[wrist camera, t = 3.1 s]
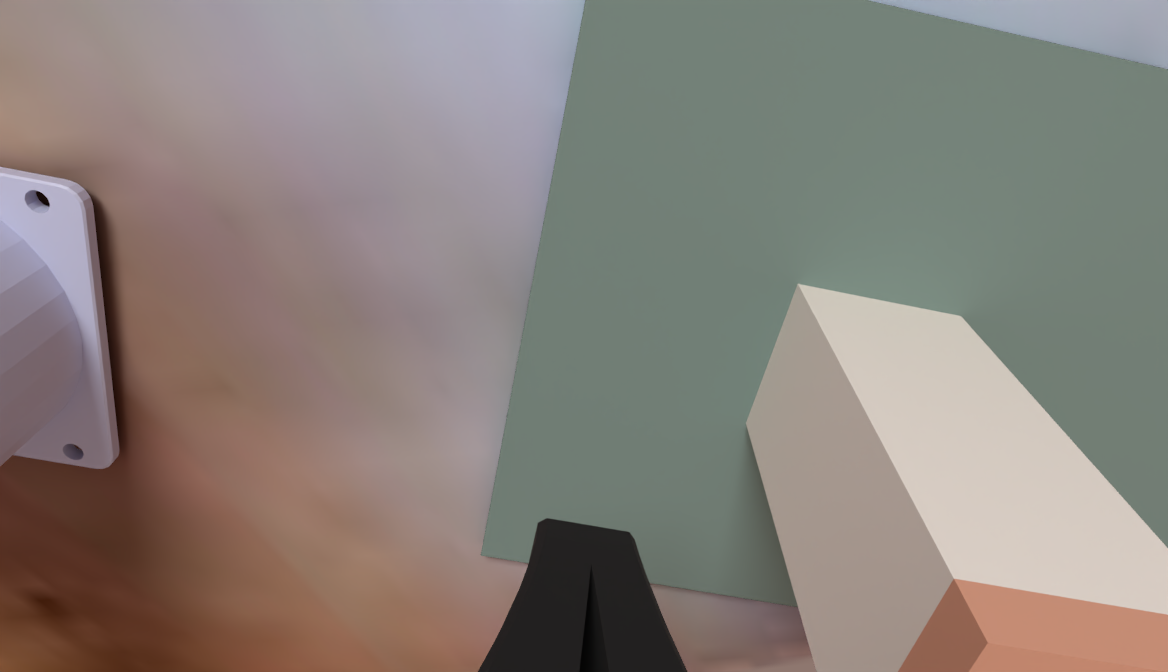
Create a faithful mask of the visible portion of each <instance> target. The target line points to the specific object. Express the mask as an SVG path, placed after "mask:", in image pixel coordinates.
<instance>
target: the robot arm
mask: <svg viewBox="0 0 1168 672" xmlns="http://www.w3.org/2000/svg"><path fill="white" fill-rule="evenodd" d="M36 191H39V192H41V193H43V194H44V195H45V196H46V197H47V198H48V201H49V203H50V206H49V207H48V206H46V205H44V204H43V203H42V202H41V201H40V200H39V199H38V197H37V195H36ZM73 444H74V445H76V446H78V447H79V448H81V449H82V450H80V449H77V448H76V447H75V446H74V445H73ZM119 451H120V450H119V441H118V432H117V422H116V413H115V404H114V394H113V385H112V376H111V367H110V357H109V348H108V339H107V329H106V320H105V311H104V302H103V292H102V283H101V274H100V264H99V255H98V246H97V237H96V227H95V218H94V209H93V203H92V200H91V197H90V196H89V194H88V193H87V192H86V190H85V189H84V188H82V187H81V186H80V185H78V184H77V183H75V182H72V181H69V180H66V179H61V178H55V177H50V176H45V175H40V174H35V173H30V172H25V171H19V170H14V169H9V168H4V167H0V466H1V465H2V464H4V463H5V462H6V461H7V460H8V459H9V458H10V457H11V456H12V455H15V456H21V457H27V458H33V459H39V460H45V461H51V462H57V463H64V464H70V465H76V466H82V467H88V468H94V469H104V468H107V467H109V466H110V465H111V464H112V463H113V462H114V461H115V459H116V458H117V457H118V456H119ZM478 672H687V670H686V668H685V666H684V663H683V661H682V659H681V657H680V655H679V652H678V650H677V648H676V646H675V644H674V641H673V639H672V637H671V635H670V633H669V630H668V628H667V626H666V623H665V621H664V619H663V616H662V614H661V611H660V609H659V606H658V604H657V601H656V599H655V596H654V594H653V591H652V589H651V586H650V583H649V580H648V578H647V575H646V572H645V569H644V567H643V564H642V561H641V558H640V555H639V552H638V549H637V545H636V542H635V539H634V538H633V536H632V535H631V533H630V532H627V531H621V530H615V529H609V528H603V527H597V526H592V525H586V524H580V523H574V522H568V521H562V520H556V519H550V518H546V519H544V520H542V521H540V522H538V524H537V529H536V533H535V537H534V542H533V546H532V550H531V555H530V559H529V564H528V568H527V570H526V573H525V576H524V578H523V581H522V584H521V586H520V589H519V591H518V593H517V595H516V598H515V600H514V602H513V604H512V606H511V608H510V611H509V613H508V615H507V617H506V619H505V622H504V624H503V626H502V628H501V630H500V632H499V634H498V636H497V638H496V640H495V642H494V644H493V645H492V647H491V649H490V651H489V653H488V654H487V656H486V658H485V660H484V662H483V664H482V665H481V667H480V669H479V671H478Z"/></svg>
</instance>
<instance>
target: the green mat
mask: <svg viewBox="0 0 1168 672" xmlns="http://www.w3.org/2000/svg"><path fill="white" fill-rule="evenodd" d="M797 284H801V285H806V286H811V287H817V288H822V289H827V290H832V291H837V292H842V293H847V294H852V295H857V296H862V297H867V298H872V299H877V300H882V301H887V302H892V303H897V304H902V305H907V306H913V307H918V308H923V309H928V310H933V311H938V312H943V313H948V314H953V315H958V316H961V317H962V318H963V319H964V320H965V321H966V322H967V323H968V325H969V326H970V327H971V328H972V329H973V330H974V331H975V332H976V334H977V335H978V336H979V337H980V338H981V339H982V340H983V341H984V342H985V344H986V345H987V346H988V347H989V348H990V349H991V350H992V351H993V353H994V354H995V355H996V356H997V357H998V358H999V359H1000V360H1001V362H1002V363H1003V364H1004V365H1005V366H1006V367H1007V368H1008V369H1009V371H1010V372H1011V373H1012V374H1013V375H1014V376H1015V377H1016V378H1017V380H1018V381H1019V382H1020V383H1021V384H1022V385H1023V386H1024V387H1025V389H1026V390H1027V391H1028V392H1029V393H1030V394H1031V395H1032V396H1033V397H1034V399H1035V400H1036V401H1037V402H1038V403H1039V404H1040V405H1041V406H1042V408H1043V409H1044V410H1045V411H1046V412H1047V413H1048V414H1049V415H1050V417H1051V418H1052V419H1053V420H1054V421H1055V422H1056V423H1057V424H1058V426H1059V427H1060V428H1061V429H1062V430H1063V431H1064V432H1065V433H1066V435H1067V436H1068V437H1069V438H1070V439H1071V440H1072V441H1073V442H1074V443H1075V445H1076V446H1077V447H1078V448H1079V449H1080V450H1081V451H1082V452H1083V454H1084V455H1085V456H1086V457H1087V458H1088V459H1089V460H1090V461H1091V463H1092V464H1093V465H1094V466H1095V467H1096V468H1097V469H1098V470H1099V472H1100V473H1101V474H1102V475H1103V476H1104V477H1105V478H1106V479H1107V481H1108V482H1109V483H1110V484H1111V485H1112V486H1113V487H1114V488H1115V489H1116V491H1117V492H1118V493H1119V494H1120V495H1121V496H1122V497H1123V498H1124V500H1125V501H1126V502H1127V503H1128V504H1129V505H1130V506H1131V507H1132V509H1133V510H1134V511H1135V512H1136V513H1137V514H1138V515H1139V516H1140V518H1141V519H1142V520H1143V521H1144V522H1145V523H1146V524H1147V525H1148V527H1149V528H1150V529H1151V530H1152V531H1153V532H1154V533H1155V534H1156V535H1157V537H1158V538H1159V539H1160V540H1161V541H1162V542H1163V543H1164V544H1165V546H1166V547H1167V548H1168V69H1164V68H1160V67H1155V66H1151V65H1147V64H1142V63H1138V62H1134V61H1129V60H1125V59H1121V58H1116V57H1112V56H1107V55H1103V54H1099V53H1094V52H1090V51H1086V50H1081V49H1077V48H1073V47H1068V46H1064V45H1060V44H1055V43H1051V42H1047V41H1042V40H1038V39H1034V38H1029V37H1025V36H1021V35H1016V34H1012V33H1008V32H1003V31H999V30H994V29H990V28H986V27H981V26H977V25H973V24H968V23H964V22H960V21H955V20H951V19H947V18H942V17H938V16H934V15H929V14H925V13H921V12H916V11H912V10H908V9H903V8H899V7H895V6H890V5H886V4H881V3H877V2H873V1H868V0H586V1H585V6H584V11H583V17H582V22H581V27H580V32H579V38H578V43H577V48H576V54H575V59H574V64H573V70H572V75H571V80H570V85H569V91H568V96H567V101H566V107H565V112H564V117H563V123H562V128H561V133H560V138H559V144H558V149H557V154H556V160H555V165H554V170H553V175H552V181H551V186H550V191H549V197H548V202H547V207H546V213H545V218H544V223H543V228H542V234H541V239H540V244H539V250H538V255H537V260H536V266H535V271H534V276H533V281H532V287H531V292H530V297H529V303H528V308H527V313H526V319H525V324H524V329H523V334H522V340H521V345H520V350H519V356H518V361H517V366H516V371H515V377H514V382H513V387H512V393H511V398H510V403H509V409H508V414H507V419H506V424H505V430H504V435H503V440H502V446H501V451H500V456H499V462H498V467H497V472H496V477H495V483H494V488H493V493H492V499H491V504H490V509H489V515H488V520H487V525H486V530H485V536H484V541H483V546H482V552H481V555H482V556H488V557H494V558H500V559H506V560H512V561H518V562H524V563H529V559H530V555H531V550H532V546H533V542H534V537H535V533H536V529H537V524H538V522H540V521H542V520H544V519H546V518H550V519H556V520H562V521H568V522H574V523H580V524H586V525H592V526H597V527H603V528H609V529H615V530H621V531H627V532H630V533H631V535H632V536H633V538H634V539H635V542H636V545H637V549H638V552H639V555H640V558H641V561H642V564H643V567H644V569H645V572H646V575H647V578H648V580H649V583H653V584H659V585H665V586H672V587H678V588H684V589H690V590H696V591H702V592H708V593H714V594H721V595H727V596H733V597H739V598H745V599H751V600H757V601H763V602H770V603H776V604H782V605H788V606H794V607H798V605H797V602H796V598H795V595H794V591H793V588H792V584H791V581H790V577H789V574H788V570H787V566H786V563H785V559H784V556H783V552H782V549H781V545H780V542H779V538H778V535H777V531H776V528H775V524H774V521H773V517H772V514H771V510H770V507H769V503H768V499H767V496H766V492H765V489H764V485H763V482H762V478H761V475H760V471H759V468H758V464H757V461H756V457H755V454H754V450H753V447H752V443H751V440H750V436H749V433H748V429H747V425H746V422H747V419H748V416H749V414H750V411H751V408H752V405H753V403H754V400H755V397H756V395H757V392H758V389H759V387H760V384H761V381H762V379H763V376H764V373H765V370H766V368H767V365H768V362H769V360H770V357H771V354H772V352H773V349H774V346H775V344H776V341H777V338H778V336H779V333H780V330H781V327H782V325H783V322H784V319H785V317H786V314H787V311H788V309H789V306H790V303H791V301H792V298H793V295H794V292H795V290H796V287H797Z"/></svg>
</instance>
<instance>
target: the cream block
mask: <svg viewBox="0 0 1168 672" xmlns="http://www.w3.org/2000/svg"><path fill="white" fill-rule="evenodd" d="M746 425H747V429H748V433H749V436H750V440H751V443H752V447H753V450H754V454H755V457H756V461H757V464H758V468H759V471H760V475H761V478H762V482H763V485H764V489H765V492H766V496H767V499H768V503H769V507H770V510H771V514H772V517H773V521H774V524H775V528H776V531H777V535H778V538H779V542H780V545H781V549H782V552H783V556H784V559H785V563H786V566H787V570H788V574H789V577H790V581H791V584H792V588H793V591H794V595H795V598H796V602H797V605H798V609H799V612H800V616H801V619H802V623H803V626H804V630H805V633H806V637H807V640H808V644H809V648H810V651H811V655H812V658H813V662H814V665H815V668H816V672H1168V548H1167V547H1166V546H1165V544H1164V543H1163V542H1162V541H1161V540H1160V539H1159V538H1158V537H1157V535H1156V534H1155V533H1154V532H1153V531H1152V530H1151V529H1150V528H1149V527H1148V525H1147V524H1146V523H1145V522H1144V521H1143V520H1142V519H1141V518H1140V516H1139V515H1138V514H1137V513H1136V512H1135V511H1134V510H1133V509H1132V507H1131V506H1130V505H1129V504H1128V503H1127V502H1126V501H1125V500H1124V498H1123V497H1122V496H1121V495H1120V494H1119V493H1118V492H1117V491H1116V489H1115V488H1114V487H1113V486H1112V485H1111V484H1110V483H1109V482H1108V481H1107V479H1106V478H1105V477H1104V476H1103V475H1102V474H1101V473H1100V472H1099V470H1098V469H1097V468H1096V467H1095V466H1094V465H1093V464H1092V463H1091V461H1090V460H1089V459H1088V458H1087V457H1086V456H1085V455H1084V454H1083V452H1082V451H1081V450H1080V449H1079V448H1078V447H1077V446H1076V445H1075V443H1074V442H1073V441H1072V440H1071V439H1070V438H1069V437H1068V436H1067V435H1066V433H1065V432H1064V431H1063V430H1062V429H1061V428H1060V427H1059V426H1058V424H1057V423H1056V422H1055V421H1054V420H1053V419H1052V418H1051V417H1050V415H1049V414H1048V413H1047V412H1046V411H1045V410H1044V409H1043V408H1042V406H1041V405H1040V404H1039V403H1038V402H1037V401H1036V400H1035V399H1034V397H1033V396H1032V395H1031V394H1030V393H1029V392H1028V391H1027V390H1026V389H1025V387H1024V386H1023V385H1022V384H1021V383H1020V382H1019V381H1018V380H1017V378H1016V377H1015V376H1014V375H1013V374H1012V373H1011V372H1010V371H1009V369H1008V368H1007V367H1006V366H1005V365H1004V364H1003V363H1002V362H1001V360H1000V359H999V358H998V357H997V356H996V355H995V354H994V353H993V351H992V350H991V349H990V348H989V347H988V346H987V345H986V344H985V342H984V341H983V340H982V339H981V338H980V337H979V336H978V335H977V334H976V332H975V331H974V330H973V329H972V328H971V327H970V326H969V325H968V323H967V322H966V321H965V320H964V319H963V318H962V317H961V316H958V315H953V314H948V313H943V312H938V311H933V310H928V309H923V308H918V307H913V306H907V305H902V304H897V303H892V302H887V301H882V300H877V299H872V298H867V297H862V296H857V295H852V294H847V293H842V292H837V291H832V290H827V289H822V288H817V287H811V286H806V285H801V284H797V287H796V290H795V292H794V295H793V298H792V301H791V303H790V306H789V309H788V311H787V314H786V317H785V319H784V322H783V325H782V327H781V330H780V333H779V336H778V338H777V341H776V344H775V346H774V349H773V352H772V354H771V357H770V360H769V362H768V365H767V368H766V370H765V373H764V376H763V379H762V381H761V384H760V387H759V389H758V392H757V395H756V397H755V400H754V403H753V405H752V408H751V411H750V414H749V416H748V419H747V422H746Z"/></svg>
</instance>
